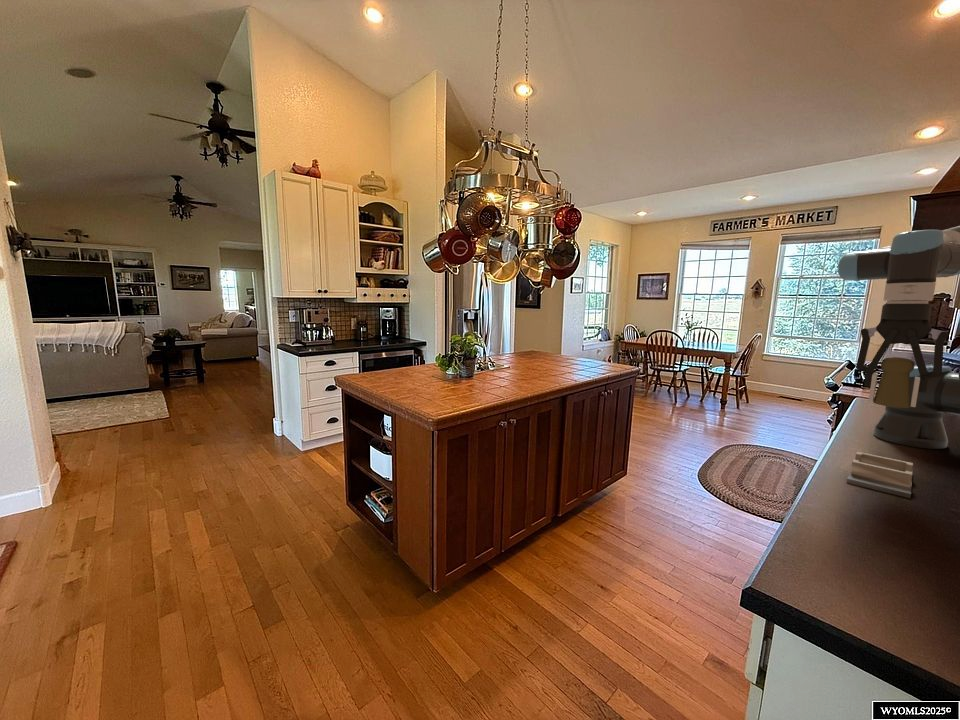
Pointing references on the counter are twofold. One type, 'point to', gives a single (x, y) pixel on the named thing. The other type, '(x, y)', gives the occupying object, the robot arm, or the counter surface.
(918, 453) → the counter surface
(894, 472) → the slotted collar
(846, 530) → the counter surface
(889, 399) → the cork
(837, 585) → the counter surface
